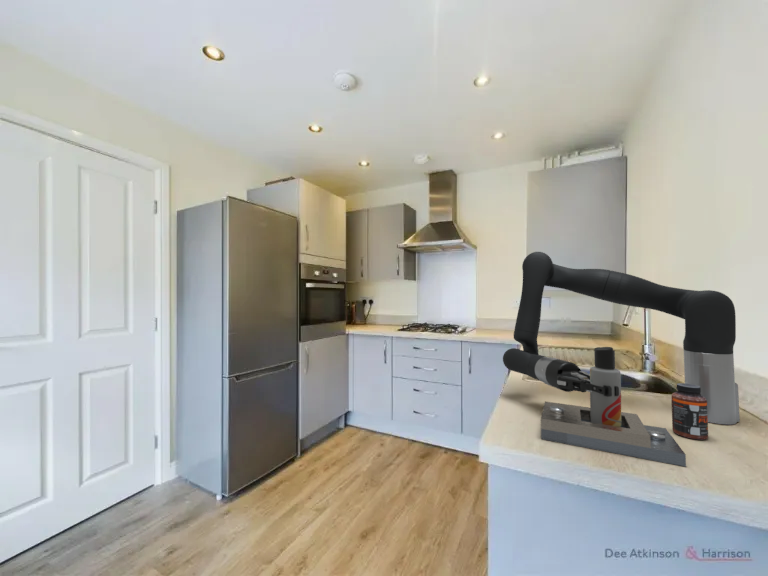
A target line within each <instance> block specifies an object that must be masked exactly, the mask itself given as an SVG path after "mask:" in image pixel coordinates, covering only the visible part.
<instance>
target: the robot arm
mask: <svg viewBox="0 0 768 576" xmlns="http://www.w3.org/2000/svg"><path fill="white" fill-rule="evenodd" d="M521 269H522V288H521V295H520V302H519V306H518V311H517V315H516V319H515V324H514V325H515V326H514V330H513V339H514V340H515V341H516V342H518V343H519V344H520V345H521V346H522V349H519V348H515V347H513V348H512V347H511V348H509V349H507V350H506V351H505V352H504V353H503V355H502V362H503V365H504V366H505V367H506V369H508V370H510V371H512V372H515V373H518V374H522V375H526V376H527V377H531V378H533V379H534V380H537V381H540V382H542V383H544V384H545V385H547V386H550V387H553V388H555V389H558V390H561V391H563V392H565V393H566V392H567V393H572V392H581V393H586V392H588V393H590V392H592V391H595V392H597V393H600V394H604V396H607V397H611V396H612V388H611V387H610V386H606V385H603V387H600V386H596V385H593V384H592V382H591V381H590V373H588V372H587V371H585V370H584V371H583V370H581V369H580V367H579V366H578V365H577V364H576V363H574V362H571V361H567V360H564V359H559V358H556V357H550V356H545V355H541V354H539V345H538V336H539V330H540V325H541V324H540V323H541V317H542V302H543V301H542V300H543V294H544V289H545V287H550V288H557V289H563V290H567V291H571V292H573V293H576V294H579V295H583V296H587V297H591V298H594V299H598V300H601V301H605V302H608V303H613V304H619V305H624V306H627V307H628V306H629V307H635V308H642V309H649V310H655V311H658V312H661V313H665V314H668V315H671V316H674V317H676V318H680V319H683V320H684V329H685V330H684V331H685V332H684V337H683V341H682V347H683V365H684V366H683V368H684V371H683V372H684V383H685V384H693V385H697V386H700V388H701V393H700V394H701V395H702V396H703V397H705V398H706V400H707V413H708V423H711V424H712V423H713V424H719V425H736V424H737V422H741V421H740V420H741V419H740V401H739V399H740V398H739V397H740V396H739V384H738V383H737V382H735V379H736V378H735V377H736V376H735V363H734V362H735V361H734V360H735V359H734V346H735V343H736V336H737V334H736V333H737V332H736V331H737V330H736V327H737V326H736V324H737V322H736V321H737V320H736V309H735V305H734V302H733V300H732V299H731V298H730V297H729V296H728V295H727V294H725V293H723V292H720V291H716V290H710V289H709V290H706V289H705V290H695V289H694V290H693V289H687V288H686V289H685V288H680V287H679V288H678V287H671V286H667V285H661V284H658V283H656V282H653V281H651V280H649V279H648V280H647V279H645V278H642V277H639V276H635V275H632V274H628V273H625V272H619V271H616V270H615V271H614V270H611V269H603V268H572V267H566V266H563V265H562V266H561V265H558V264H555V263H553V260H552V258H551V257H550V256H549V255H548V254H547V253H545V252H543V251H533V252H531V253H529V254H527V256H526V257H525V258H524V259H523V261H522V267H521ZM594 387H595V388H596V390H594ZM614 391H615V396H619V387H618V386H614Z"/></svg>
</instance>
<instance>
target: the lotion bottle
mask: <svg viewBox="0 0 768 576" xmlns="http://www.w3.org/2000/svg"><path fill="white" fill-rule="evenodd" d="M593 352H594V353H593V354H594V366H590V368H589V374H590V381H591V382H592V384H593V385H596V386H600V387H603V385H606V386H610V387H611V388H612V396H611V397H607V396H604V394H600V393H597V392H595V391H592V392H589V401H590V402H589V403H590V404H589V405H590V406H589V408H590V416H591V423H597V424H604V425H610V426H617V427H622V426H621V412H622V384H621V383H622V381H621V378H622V376H621V370H619V369H618V368H616V351H615V349H614V348H613V347H612V346H602V347H595V348H594V351H593ZM614 386H618V387H619V396H615V391H614ZM594 390H596V388H595V387H594Z"/></svg>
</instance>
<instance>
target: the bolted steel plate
mask: <svg viewBox="0 0 768 576" xmlns="http://www.w3.org/2000/svg"><path fill="white" fill-rule="evenodd" d="M621 426H622V427H617V426H610V425H604V424H597V423H591V416H590V406H588V407H587V406H580V405H573V404H567V403H566V404H565V403H560V402H551V401H544V404H543V407H542V412H541V417H540V434H541V435H540V438H541V440H544V441H550V442H555V443H559V444H566V445H571V446H575V447H581V448H587V449H590V450H591V449H593V450H596V451H601V452H607V453H612V454H617V455H623V456H626V457H631V458H638V459H644V460H648V461H649V460H650V461H653V462H659V463H664V464H669V465H675V466H679V467H685V468H686V467H687V462H686V461H687V460H686V459H687V457H686V455H687V454H686V453H685V451H684V450H683V449H682V448H681V447H680V446H679V444H678V442H677V441H676V439H675V438H674V437H673V436H672V435H671V433H670V432H669V431H668V429H667V428H666V427H659V426H654V425H653V426H652V425H645V424H644V423H643V422H642V420H641V418H640V417H639V415H638V414H637V413H632V412H624V411H621Z"/></svg>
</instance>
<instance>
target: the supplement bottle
mask: <svg viewBox="0 0 768 576" xmlns="http://www.w3.org/2000/svg"><path fill="white" fill-rule="evenodd" d="M676 390H677V391H675V392H672V394H671V420H672V421H671V422H672V423H671V425H672V431H673V433H675V434H676V435H678V436H681V437H683V438H687V439H690V440H691V439H692V440H698V441H699V440H700V441H703V440H707V439H708V438H709V422H708V413H707V400H706V398H705V397H703V396H702V395H701V394H700V393H701V388H700V386H697V385H693V384H685V382H683V383H682V382H681V383H680V382H679V383H676Z"/></svg>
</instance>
